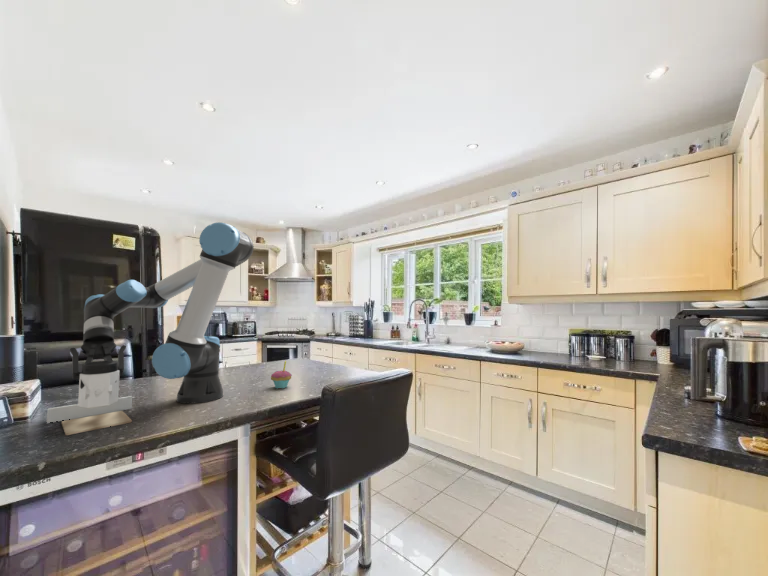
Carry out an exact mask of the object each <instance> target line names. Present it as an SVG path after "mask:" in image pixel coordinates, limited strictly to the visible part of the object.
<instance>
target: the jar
mask: <svg viewBox="0 0 768 576" xmlns="http://www.w3.org/2000/svg"><path fill="white" fill-rule="evenodd" d="M119 373H120V370H118V360H113V361H104V360H101V361H93V362H90V363H84V364H82V365H81V374H80V378H79V379H78V381H79V382H78V384H79V385H78V398H77V404H78V407H82V408H88V409H89V408H96V407H103V406H109V405H111V404H113V403H115V402H117V401H118V398H119V389H120V375H119ZM81 380H82V382H83V384H84V387H83V388H82V389H81V388H80V383H81ZM116 380H117V381H116ZM115 382H116V383H115ZM86 385H87V387H88V389H90V393H89V397H88V398H87V399H86V400H85V394H86ZM111 385H112V394H111V395H110V394H108V391H109V388H110V386H111Z"/></svg>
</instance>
